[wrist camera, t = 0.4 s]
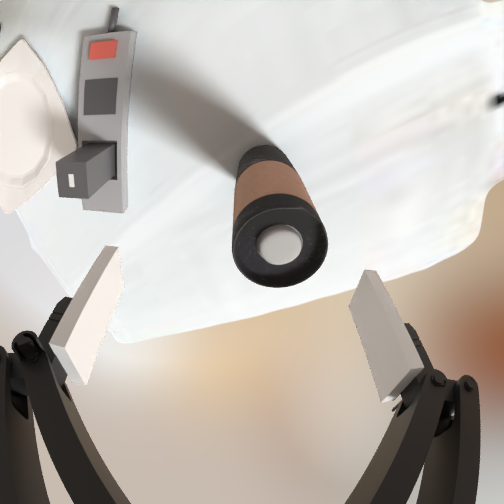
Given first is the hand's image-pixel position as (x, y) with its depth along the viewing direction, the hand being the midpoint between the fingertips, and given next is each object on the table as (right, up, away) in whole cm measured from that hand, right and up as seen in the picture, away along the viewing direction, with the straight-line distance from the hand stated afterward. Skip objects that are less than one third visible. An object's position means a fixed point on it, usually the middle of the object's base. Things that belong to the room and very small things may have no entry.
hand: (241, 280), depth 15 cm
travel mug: (+2, +13, +24) cm, 27 cm away
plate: (-39, +22, +17) cm, 47 cm away
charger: (-20, +15, +20) cm, 32 cm away
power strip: (-19, +21, +17) cm, 33 cm away
